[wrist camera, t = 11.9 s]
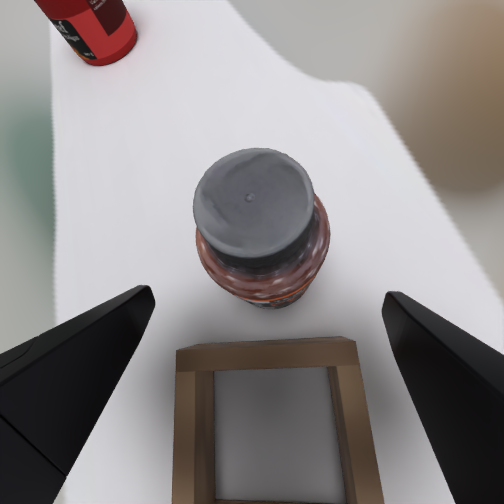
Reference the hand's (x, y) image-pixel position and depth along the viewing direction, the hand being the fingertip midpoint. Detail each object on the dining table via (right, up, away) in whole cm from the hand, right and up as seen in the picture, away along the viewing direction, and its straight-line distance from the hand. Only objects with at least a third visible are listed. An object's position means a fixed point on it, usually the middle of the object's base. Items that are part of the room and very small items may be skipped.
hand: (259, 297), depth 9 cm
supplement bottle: (+1, 0, +9) cm, 9 cm away
